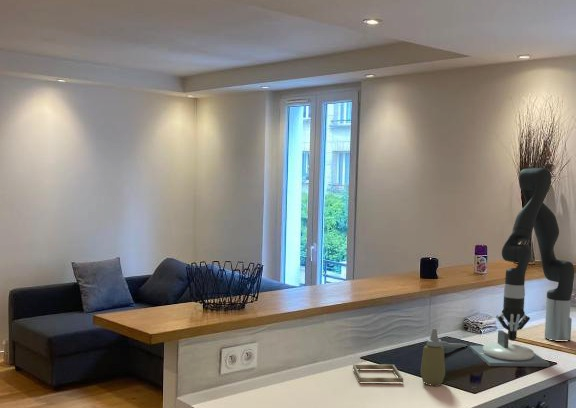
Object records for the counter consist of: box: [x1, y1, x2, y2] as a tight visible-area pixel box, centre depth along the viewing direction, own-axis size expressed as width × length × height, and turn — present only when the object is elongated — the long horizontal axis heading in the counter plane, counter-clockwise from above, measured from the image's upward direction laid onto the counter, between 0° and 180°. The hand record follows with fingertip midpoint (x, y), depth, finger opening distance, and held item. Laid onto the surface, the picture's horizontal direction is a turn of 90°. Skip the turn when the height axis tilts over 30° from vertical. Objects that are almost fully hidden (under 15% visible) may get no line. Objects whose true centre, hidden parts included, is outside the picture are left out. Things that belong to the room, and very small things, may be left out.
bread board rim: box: [352, 363, 404, 383], centre depth 220 cm, size 14×14×2 cm
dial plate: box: [468, 345, 551, 368], centre depth 247 cm, size 22×22×1 cm
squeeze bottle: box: [419, 328, 446, 386], centre depth 214 cm, size 8×8×18 cm
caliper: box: [438, 338, 468, 350], centre depth 253 cm, size 20×1×6 cm, turn 131°
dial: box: [482, 330, 535, 361], centre depth 247 cm, size 19×18×6 cm
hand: (511, 340), depth 254 cm, fingers closed
